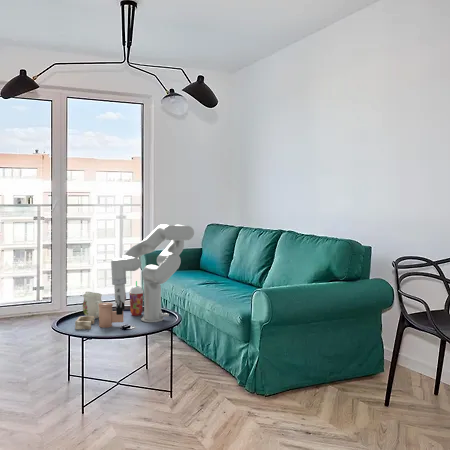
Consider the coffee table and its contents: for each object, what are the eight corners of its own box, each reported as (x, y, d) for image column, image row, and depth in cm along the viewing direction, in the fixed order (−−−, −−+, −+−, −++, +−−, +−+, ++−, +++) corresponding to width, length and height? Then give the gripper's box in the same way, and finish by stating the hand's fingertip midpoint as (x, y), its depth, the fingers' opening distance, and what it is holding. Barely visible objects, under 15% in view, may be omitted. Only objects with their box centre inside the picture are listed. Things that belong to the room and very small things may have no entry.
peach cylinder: (124, 323, 280) (124, 302, 279) (122, 327, 272) (122, 305, 271) (99, 324, 279) (99, 302, 278) (97, 328, 271) (97, 305, 270)
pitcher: (91, 322, 281) (90, 298, 280) (78, 316, 295) (77, 292, 294) (109, 319, 288) (109, 295, 287) (95, 313, 302) (95, 290, 301)
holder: (94, 323, 280) (94, 316, 280) (90, 329, 269) (90, 321, 269) (79, 323, 280) (79, 316, 279) (75, 329, 268) (75, 321, 268)
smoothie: (144, 312, 304) (144, 280, 302) (142, 316, 296) (142, 282, 294) (130, 312, 304) (130, 279, 302) (128, 316, 295) (128, 282, 294)
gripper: (124, 284, 266) (125, 316, 268) (127, 277, 283) (129, 307, 285) (109, 285, 265) (111, 316, 267) (114, 278, 283) (115, 308, 284)
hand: (120, 312), depth 276 cm, fingers open, 9 cm apart
